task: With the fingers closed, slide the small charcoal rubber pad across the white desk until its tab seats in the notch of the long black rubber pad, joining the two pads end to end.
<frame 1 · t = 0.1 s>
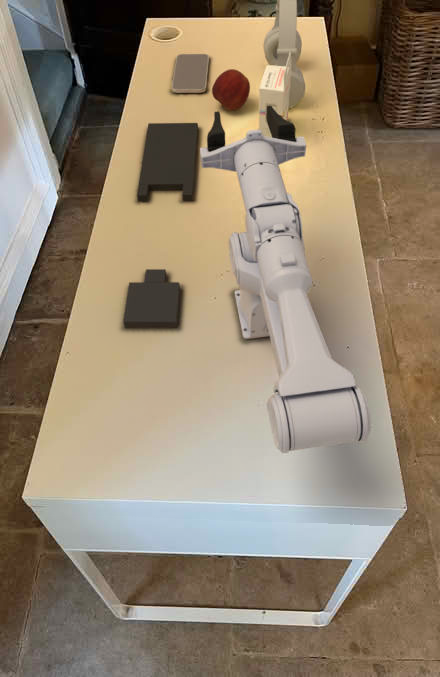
hand: (242, 114, 88), 22 cm above the table, tool horizontal, fingers open, 7 cm apart
charcoal pad: (153, 307, 94), on the table
smartphone: (191, 75, 134), on the table
ink cartridge box: (272, 132, 121), on the table
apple: (231, 108, 127), on the table
black pad: (169, 163, 116), on the table
headphones: (282, 85, 131), on the table
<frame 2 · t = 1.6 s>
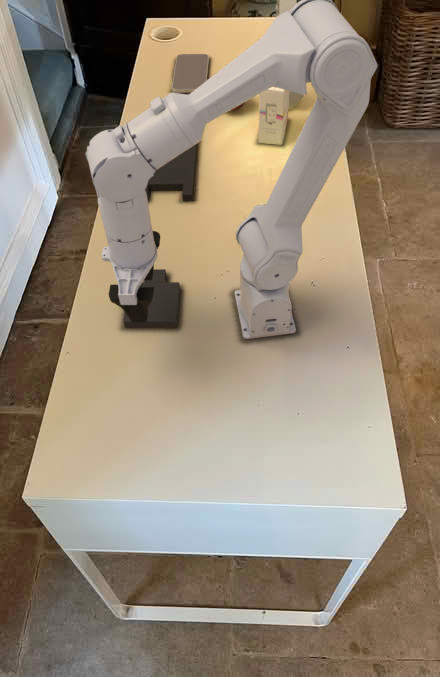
hand: (142, 298, 84), 8 cm above the table, tool pointing down, fingers open, 7 cm apart
nothing on the table moved.
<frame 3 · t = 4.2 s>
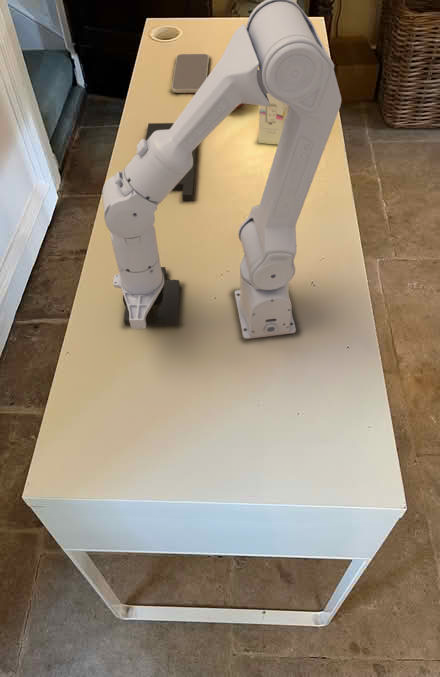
hand: (149, 320, 91), 1 cm above the table, tool pointing down, fingers closed, pressing on charcoal pad
charcoal pad: (153, 305, 95), on the table, touching gripper
everything else where it was.
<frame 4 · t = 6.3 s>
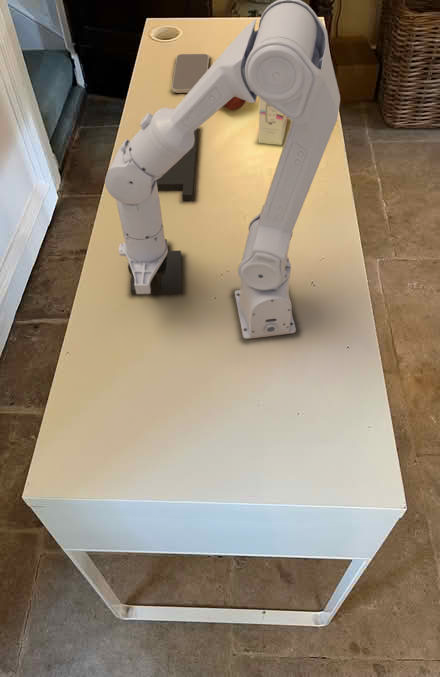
hand: (153, 289, 95), 1 cm above the table, tool pointing down, fingers closed, pressing on charcoal pad
charcoal pad: (157, 275, 99), on the table, touching gripper
everything else where it was.
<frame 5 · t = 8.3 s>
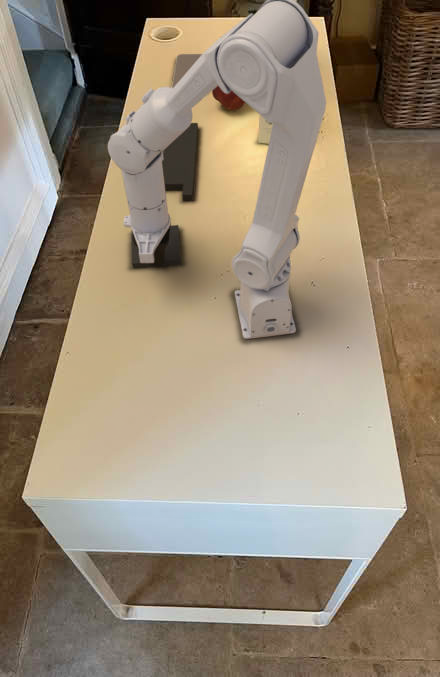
hand: (156, 262, 99), 1 cm above the table, tool pointing down, fingers closed, pressing on charcoal pad
charcoal pad: (156, 249, 102), on the table, touching gripper
everything else where it was.
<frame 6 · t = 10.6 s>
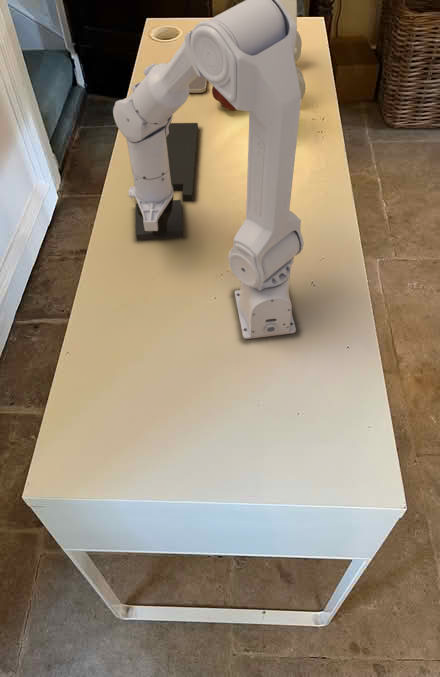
hand: (160, 233, 103), 1 cm above the table, tool pointing down, fingers closed, pressing on charcoal pad
charcoal pad: (159, 223, 106), on the table, touching gripper
everything else where it was.
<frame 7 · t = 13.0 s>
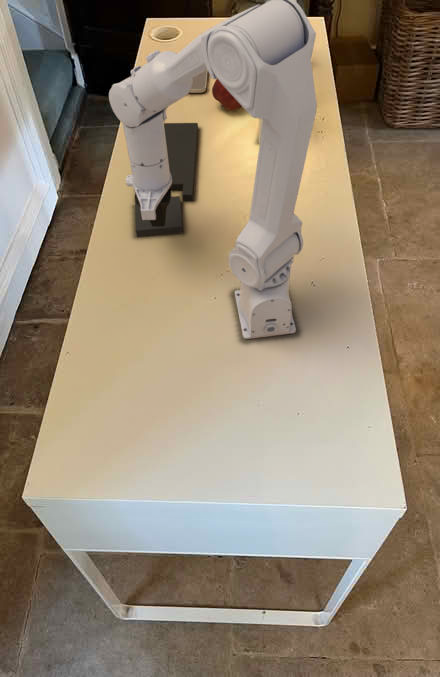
hand: (158, 223, 100), 4 cm above the table, tool pointing down, fingers closed
charcoal pad: (159, 219, 107), on the table
everything else where it was.
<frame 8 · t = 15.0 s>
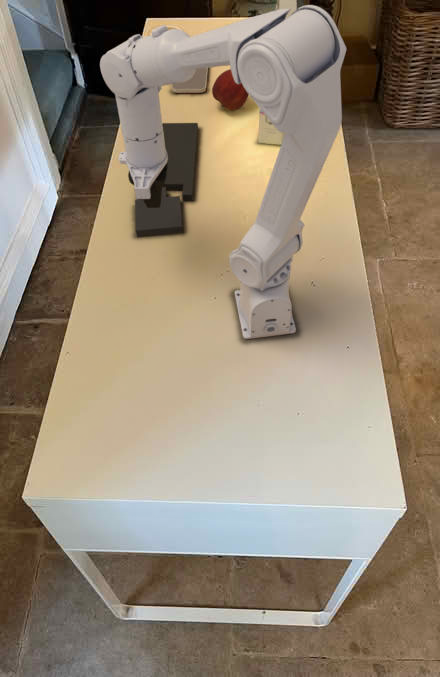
hand: (153, 204, 95), 9 cm above the table, tool pointing down, fingers closed
nothing on the table moved.
at the end: charcoal pad 0.9 cm from the target spot on the table beside the black pad, on the table; charcoal pad tilted 0° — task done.
